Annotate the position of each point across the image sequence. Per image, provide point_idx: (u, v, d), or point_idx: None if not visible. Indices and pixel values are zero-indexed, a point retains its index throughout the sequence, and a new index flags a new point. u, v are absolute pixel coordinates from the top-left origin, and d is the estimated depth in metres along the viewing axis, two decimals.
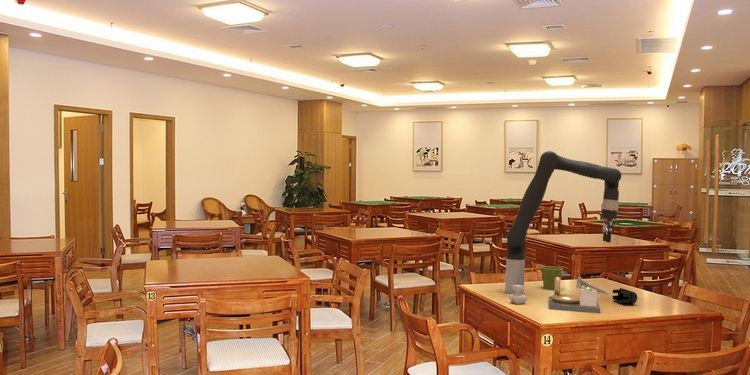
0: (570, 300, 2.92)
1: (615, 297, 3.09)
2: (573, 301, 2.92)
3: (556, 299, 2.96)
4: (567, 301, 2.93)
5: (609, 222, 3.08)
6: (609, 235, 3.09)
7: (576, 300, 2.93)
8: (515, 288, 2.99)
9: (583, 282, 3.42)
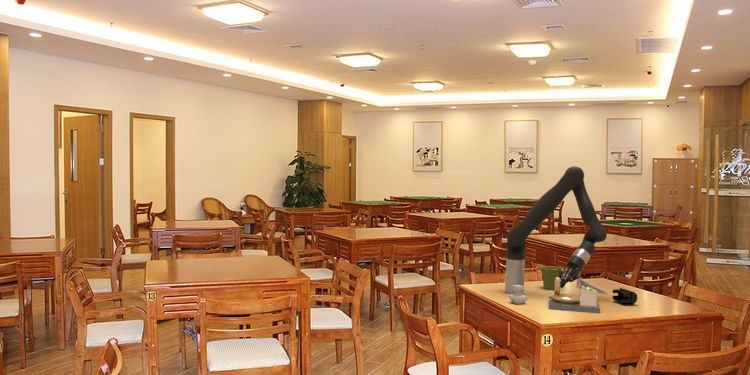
0: (570, 300, 2.92)
1: (615, 297, 3.09)
2: (573, 301, 2.93)
3: (556, 299, 2.96)
4: (567, 301, 2.93)
5: (578, 274, 3.02)
6: (566, 281, 3.05)
7: (576, 300, 2.93)
8: (515, 288, 2.99)
9: (583, 282, 3.42)
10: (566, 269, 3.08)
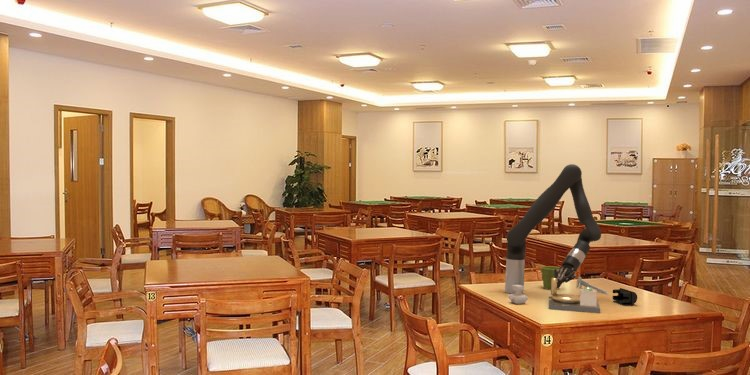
0: (577, 300, 2.93)
1: (615, 297, 3.09)
2: None
3: (563, 300, 2.93)
4: (575, 301, 2.93)
5: (573, 274, 3.01)
6: (561, 282, 3.03)
7: None
8: (515, 288, 2.99)
9: (583, 282, 3.42)
10: (561, 269, 3.07)
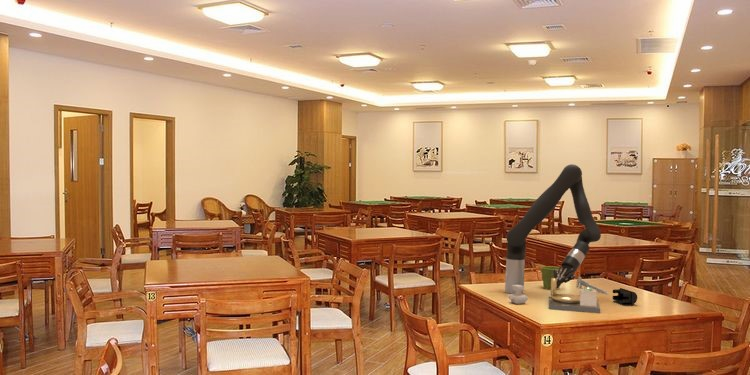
0: (578, 300, 2.94)
1: (615, 297, 3.09)
2: None
3: (565, 300, 2.93)
4: (576, 301, 2.93)
5: (572, 275, 3.00)
6: (561, 282, 3.02)
7: None
8: (515, 288, 2.99)
9: (583, 282, 3.42)
10: (561, 270, 3.06)
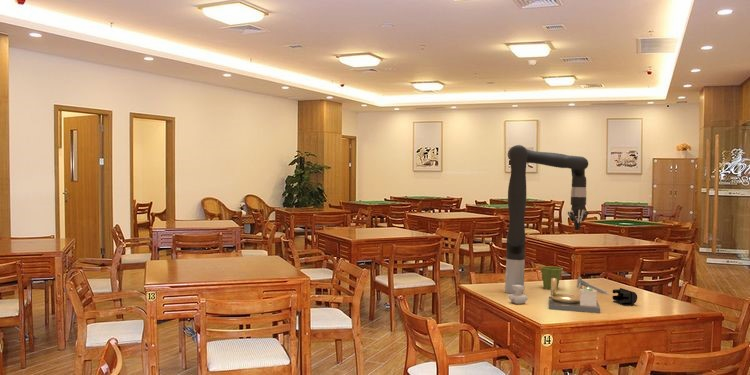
0: (578, 300, 2.94)
1: (615, 297, 3.09)
2: None
3: (565, 301, 2.93)
4: (577, 301, 2.93)
5: (568, 213, 3.21)
6: (575, 223, 3.23)
7: None
8: (515, 288, 2.99)
9: (583, 282, 3.42)
10: None
